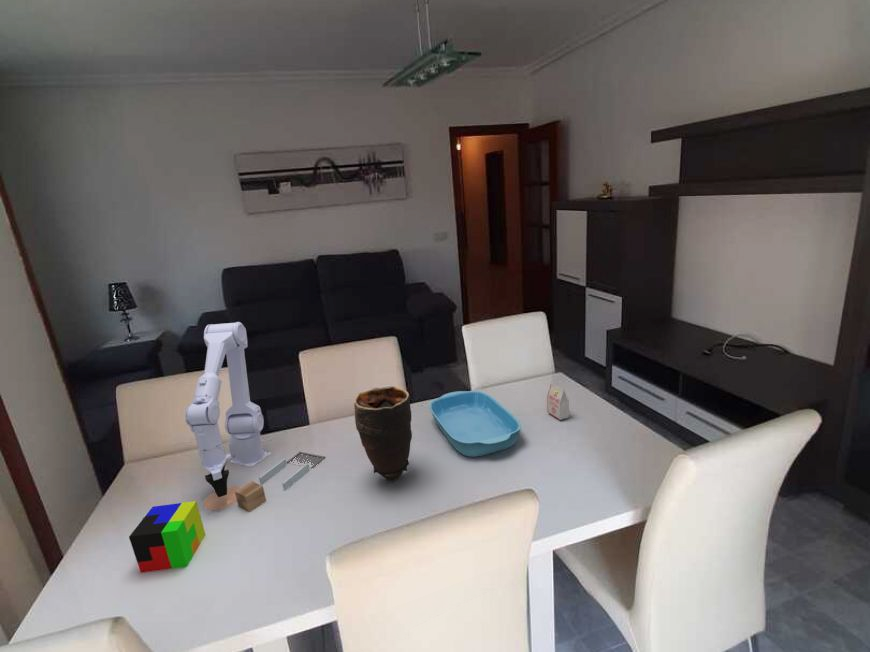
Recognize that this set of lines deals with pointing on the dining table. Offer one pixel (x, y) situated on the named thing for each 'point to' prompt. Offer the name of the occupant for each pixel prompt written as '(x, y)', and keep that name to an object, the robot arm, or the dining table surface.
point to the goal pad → (221, 499)
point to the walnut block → (250, 496)
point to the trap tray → (313, 459)
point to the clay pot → (385, 428)
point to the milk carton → (557, 402)
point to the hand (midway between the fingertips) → (221, 489)
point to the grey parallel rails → (280, 466)
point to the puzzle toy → (167, 536)
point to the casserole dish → (475, 422)
